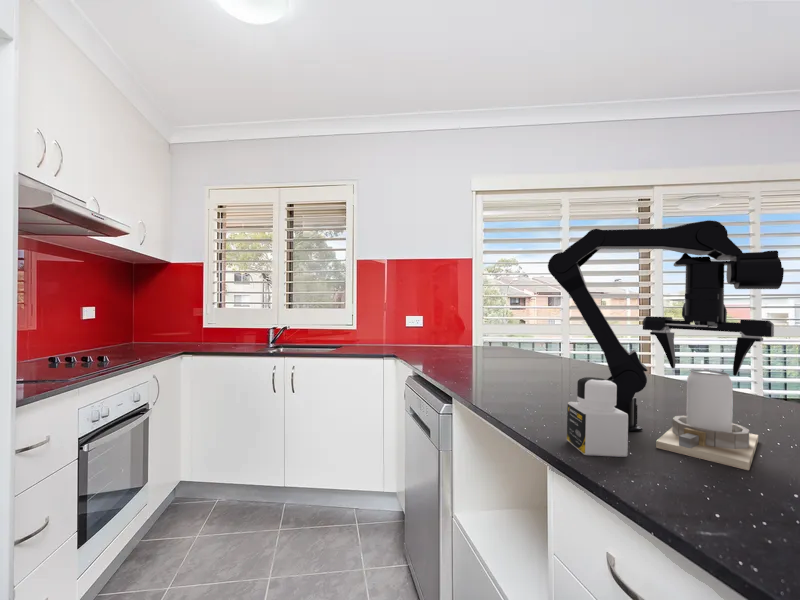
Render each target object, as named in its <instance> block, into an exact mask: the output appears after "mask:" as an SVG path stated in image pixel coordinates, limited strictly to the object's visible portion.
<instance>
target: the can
mask: <svg viewBox="0 0 800 600" xmlns="http://www.w3.org/2000/svg"><path fill="white" fill-rule="evenodd" d="M689 371H690V373H689V374H688V377H687V379H686V380H687V381H686V416H687V424H688V425H691V426H694V427H698V428H703V429H708V430H713V431H721V432H732V423H733V417H734V416H733V415H734V414H733V411H734V409H733V402H734V401H733V398H734V397H733V394H734V393H733V392H734V389H733V388H734V385H733V381H732V379H731V377H730V374H731V373H728V372H724V371H718V370H710V369H696V368H694V369H693V368H692V369H690V370H689Z"/></svg>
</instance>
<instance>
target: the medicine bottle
mask: <svg viewBox="0 0 800 600" xmlns="http://www.w3.org/2000/svg"><path fill="white" fill-rule="evenodd" d="M607 379H608V378H603V377H602V378H601V377H591V376H590V377H589V376H586V377H581V378H579V379H578V380H577V382H576V383H577V389H576V391H577V392H576V394H577V395H576V397H577V398H576V401H568V402H567V408H566V409H567V413H566V414H567V416H566V417H567V419H566V441H567V442H568V443H569V444H571V445H572V446H573V447H574V448H575V449H577V450H578V451H579V452H581V454H582V455H584V456H591V457H592V456H593V457H594V456H595V457H596V456H597V457H617V458H618V457H619V458H627V457H628V450H629V449H628V448H629V443H628V442H629V431H628V414H627V413H625V412H623V411H621V410H619V409H617V408H615V407H614V406H616V401H617V385H616V384H615V383H614V382H612V381H610V380H607Z"/></svg>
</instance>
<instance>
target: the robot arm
mask: <svg viewBox="0 0 800 600" xmlns="http://www.w3.org/2000/svg"><path fill="white" fill-rule="evenodd" d="M600 250H667V251H671V252H675V253H681V254H682V255H681V257H680V258H679V259H677V260H676V261H675V262H674V263H673V266H674V267H685V283H684V284H685V285H684V287H685V292H684V303H683V305H682V310H681V316H682V318H683V320H682V319H681V320H676V319H674V320H673V317H671V316H645V317H644V318H643V320H642V330H643V331H644V330H645V331H650V332H649V334H650V335H652V336H655V337H656V338H657V340H658V342H659V344H660V345H661V348H662V349H663V351H664V354H665V356H666V358H667V361H668V364H669V365H670V367H671V369H675V368H676V351H675V341H674V339H675V332H671V331H672V329H673V330H687V331H707V332H728V333H739V335H741V336H738V337H736V338H737V339H736V344H735V345H736V346H735V352H734V358H733V365H732V375H733V376H738V374H739V371H740V370H741V367H742V365H743V363H744V359H745V358H746V356H747V355H748V352H750V350H751V348H752V346H753V345H754V344H755V342H756V343H757V342H758V343H759V342H763V341H764V337H765V338H773V337H775V336H774V335H775V325H774V322H772V321H770V320H768V319H767V320H765V319H763V320H762V319H740V322H727V317H728V316H727V315H728V311H727V308H726V306H725V305H726V304H725V300H724V299H725V298H724V297H725V275H726V283H727V284H728V285H733V287H734V289H735V290H779V289H780V288H781V286H782V284H783V280H784V273H785V272H784V271H785V270H784V269H785V268H784V267H783V266H782V261H781V258H780V257H779V251H778V250H766V251H758V252H757V251H754V252H752V251H751V252H743V250H741V249H740V247H739V246H737V245H736V243H735V242H733V241H732V240H731V238H729V237H728V230H727V228H726V227H725V225H723V224H722V223H721V222H719V221H716V220H711V219H710V220H709V219H708V220H702V221H697V222H690V223H685V224H681V225H677V226H673V227H672V226H671V227H666V228H665V227H664V228H630V229H629V228H625V229H623V228H622V229H599V228H593V229H591V230H589V231H588V232H587V233H586V234H584V235H583V237H581V238H580V239H578V240H577V241H575V242H574V243H573V244H571V245H570V246H568V247H567V248H566V249H565V250H564V251H562V252H560V251H559V252H557V253H554V254H553V255H552V256H551V257H550V259H549V260H548V263H547V269H548V272H549V273H550V274H551V276H552V278H554V279H555V280H556V281H557V283H558V284H559V286H561V287H562V289H563V290H565V292H566V293H568V295H569V296H570V297H571V299H572V301H573V303H574V304H575V306H576V308H577V309H578V311H579V313H580V315H581V317H582V318H583V320H584V321H585V323H586V325H587V327H588V328H589V330H590V331H591V333H592V335H593V336H594V339H595V340H596V342H597V344H598V345H599V347H600V349H601V350H602V352H603V354H604V358H605V361H606V364H607V366H608V369H609V372H610V375H611V376H609V377H608V378H606V379H607V380H610V381H612V382H614V383H615V384H616V385H617V401H616V406H614V407H615V408H617V409H619V410H621V411H623V412H625V413H627V414H628V432H632V431H634V432H635V431H643V427H642V426H639V425H638V404H637V397H635V394H636V393H639V392H641V391H643V390H644V389H645V388H646V385H647V382H648V378H647V376H646V373H645V372H647V371H648V369H647V366H646V365H645V364H644V363H642V361H641V360H640V358H639V356H638V354H637V351H636V349H632V350H631V351H630V352H629V351H628V350H627V349H626V348H625V347H624V346H623V344H622V343H621V341H620V340H619V338H618V337H617V335H616V333H615V332H614V330H613V328H612V327H611V325H610V324H609V322H608V320H607V318H606V317H605V316H604V314H603V312H602V311H601V309H600V307H599V305H598V304H597V302H596V301H595V299H594V297H593V295H592V294H591V292H590V290H589V289H588V287H587V284H586V280H585V278H584V275H583V272H582V270H581V267H582V266H583V265H584V264H586V263H587V262H588V261H589V260H590V259H592V257H593V256H594V255H595V254H596V253H598V252H599V251H600ZM691 255H695V256H691ZM711 258H712V259H714V260H712V259H711ZM725 266H726V274H725ZM691 323H694V324H691Z"/></svg>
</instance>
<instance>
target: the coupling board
mask: <svg viewBox="0 0 800 600" xmlns="http://www.w3.org/2000/svg"><path fill="white" fill-rule="evenodd" d="M671 423H672V426H671V427H670V429H668V430H667V431H666V432H665V433H664V434H662V435H661V436H660V437H659V438H658V439H657V440H656V442H655V444H656V445H655V446H656V447H655V448H656V449H660V450H664V451H667V452H672V453H677V454H680V455H684V456H685V455H686V456H689V457H692V458H697V459H700V460H705V461H709V462H712V463H718V464H719V465H720V464H721V465H725V466H729V467H733V468H738V469H741V470H745V471H750V469H751V465H752V462H753V459H754V456H755V453H756V449H757V447H758V443H759V434H754V433H750V429H748V428H747V427H745V426H743V425H740V424H737V423H734V422H732V432H721V431H713V430H708V429H703V428H698V427H694V426H691V425H688V424H687V415H675V416H673V418H672V421H671Z"/></svg>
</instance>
